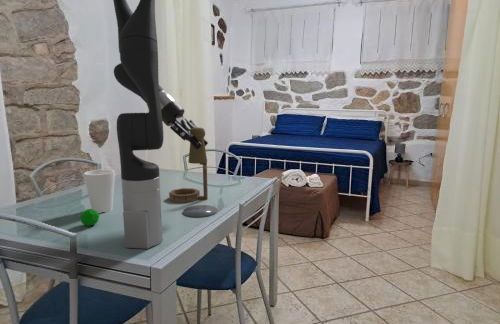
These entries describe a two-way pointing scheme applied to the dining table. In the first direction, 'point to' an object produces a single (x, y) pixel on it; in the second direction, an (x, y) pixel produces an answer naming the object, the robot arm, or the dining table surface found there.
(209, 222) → the dining table surface
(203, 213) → the slate coaster
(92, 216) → the polyhedron
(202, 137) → the cork
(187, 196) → the ring stand
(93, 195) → the foam cup
